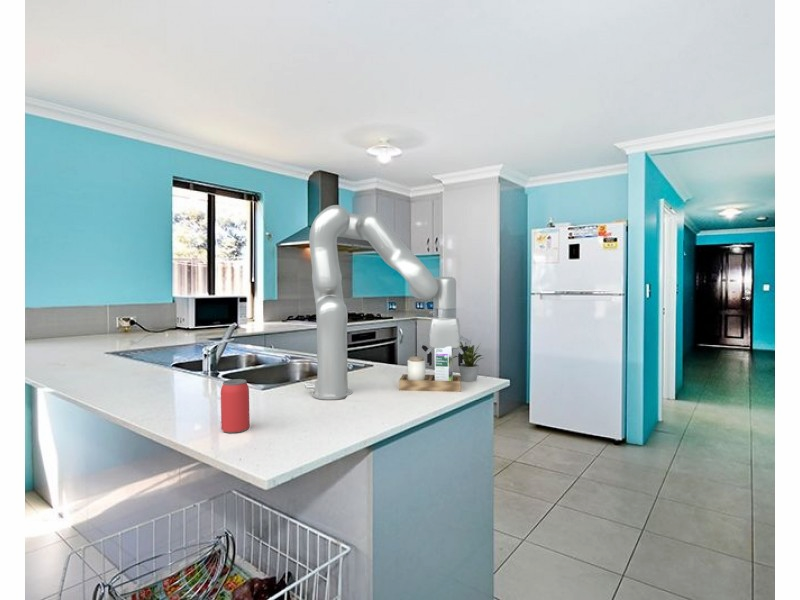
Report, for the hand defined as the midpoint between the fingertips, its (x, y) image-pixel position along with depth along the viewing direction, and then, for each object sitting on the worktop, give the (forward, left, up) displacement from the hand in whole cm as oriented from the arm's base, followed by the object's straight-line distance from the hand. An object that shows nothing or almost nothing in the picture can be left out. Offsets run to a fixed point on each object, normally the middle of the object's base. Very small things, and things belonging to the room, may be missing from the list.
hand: (444, 365), depth 157 cm
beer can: (-49, -48, -8) cm, 70 cm away
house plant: (+7, +14, -8) cm, 17 cm away
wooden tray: (-5, 0, -8) cm, 10 cm away
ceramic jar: (-10, 0, -7) cm, 12 cm away
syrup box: (0, 0, -8) cm, 8 cm away
